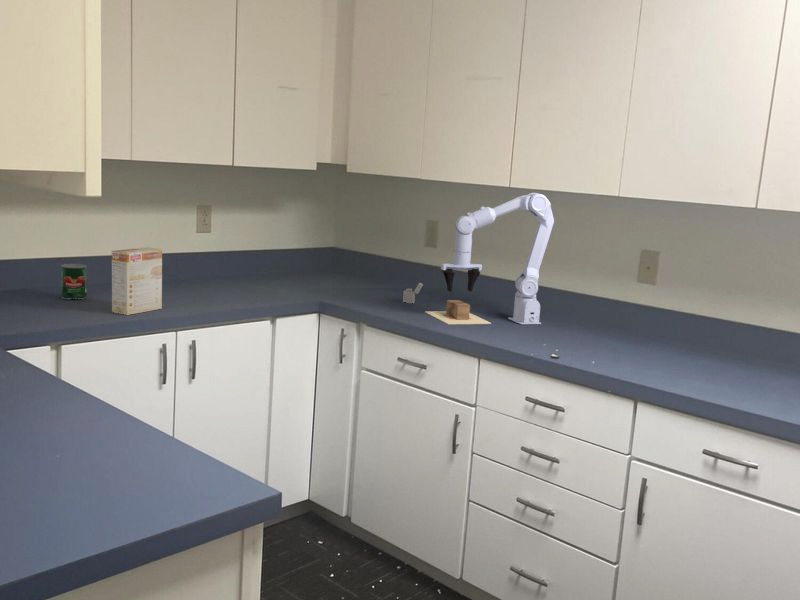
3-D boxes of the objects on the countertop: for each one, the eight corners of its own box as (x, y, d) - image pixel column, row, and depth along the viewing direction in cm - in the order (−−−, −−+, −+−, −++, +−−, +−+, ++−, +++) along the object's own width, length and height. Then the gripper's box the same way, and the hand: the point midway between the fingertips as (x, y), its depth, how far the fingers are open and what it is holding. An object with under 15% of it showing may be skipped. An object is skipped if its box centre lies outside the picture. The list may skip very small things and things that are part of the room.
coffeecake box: (146, 305, 262) (147, 246, 259) (162, 309, 259) (163, 249, 256) (110, 312, 249) (110, 250, 246) (127, 315, 246) (127, 252, 243)
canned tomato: (68, 301, 262) (68, 267, 260) (56, 297, 267) (56, 264, 265) (91, 298, 268) (91, 266, 266) (79, 295, 273) (79, 263, 271)
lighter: (402, 302, 299) (404, 281, 298) (404, 301, 301) (405, 280, 299) (420, 304, 296) (421, 283, 295) (421, 304, 298) (423, 282, 297)
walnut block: (446, 314, 279) (447, 300, 278) (457, 314, 281) (458, 300, 280) (456, 319, 271) (458, 305, 270) (468, 319, 272) (470, 305, 272)
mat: (491, 323, 270) (491, 322, 269) (447, 324, 264) (447, 323, 264) (465, 311, 288) (465, 310, 288) (424, 312, 282) (424, 311, 282)
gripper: (476, 250, 278) (473, 288, 281) (438, 249, 273) (435, 288, 276) (485, 253, 272) (482, 292, 274) (447, 252, 267) (444, 292, 269)
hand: (459, 290), depth 274 cm, fingers open, 7 cm apart
